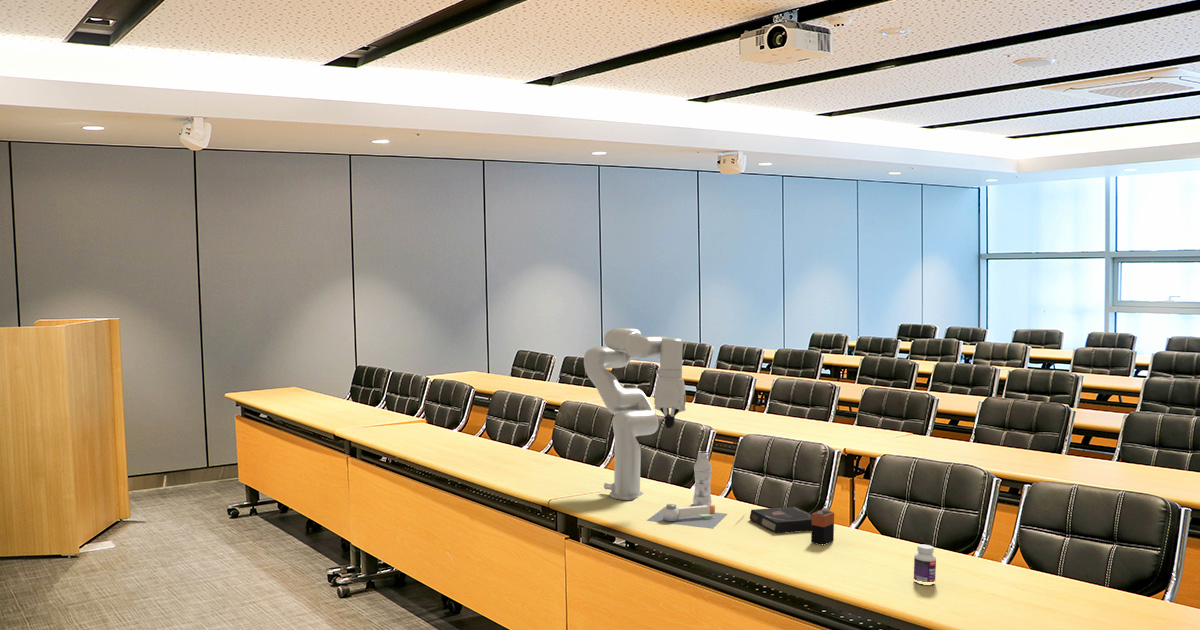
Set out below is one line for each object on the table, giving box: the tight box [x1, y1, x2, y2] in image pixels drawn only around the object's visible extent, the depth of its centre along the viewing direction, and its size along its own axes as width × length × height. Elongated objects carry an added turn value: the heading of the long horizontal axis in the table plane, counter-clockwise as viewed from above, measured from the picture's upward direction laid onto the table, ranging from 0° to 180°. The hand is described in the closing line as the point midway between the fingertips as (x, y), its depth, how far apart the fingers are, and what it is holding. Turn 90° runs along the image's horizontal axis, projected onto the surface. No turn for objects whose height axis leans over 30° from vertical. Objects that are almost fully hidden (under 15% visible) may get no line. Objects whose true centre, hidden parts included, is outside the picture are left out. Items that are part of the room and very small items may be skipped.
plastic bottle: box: [692, 450, 713, 506], centre depth 307 cm, size 6×7×20 cm
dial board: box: [646, 508, 728, 529], centre depth 291 cm, size 22×20×2 cm
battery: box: [810, 507, 835, 546], centre depth 270 cm, size 4×7×10 cm, turn 138°
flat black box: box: [749, 506, 813, 534], centre depth 289 cm, size 16×17×4 cm
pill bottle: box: [913, 543, 937, 582], centre depth 234 cm, size 5×5×10 cm
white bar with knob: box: [662, 503, 716, 521], centre depth 289 cm, size 5×18×5 cm, turn 110°
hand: (669, 427), depth 303 cm, fingers closed
